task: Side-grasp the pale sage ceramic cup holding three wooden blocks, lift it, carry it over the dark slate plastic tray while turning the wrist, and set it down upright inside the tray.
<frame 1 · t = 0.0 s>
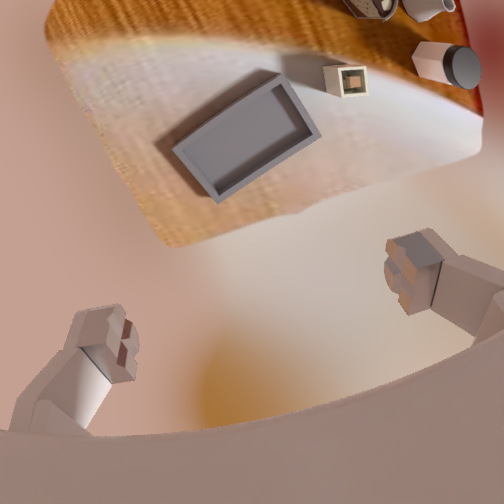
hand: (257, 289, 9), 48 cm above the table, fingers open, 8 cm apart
tray: (246, 136, 53), on the table
jar: (427, 60, 47), on the table
flask: (416, 6, 40), on the table
cup: (337, 78, 49), on the table
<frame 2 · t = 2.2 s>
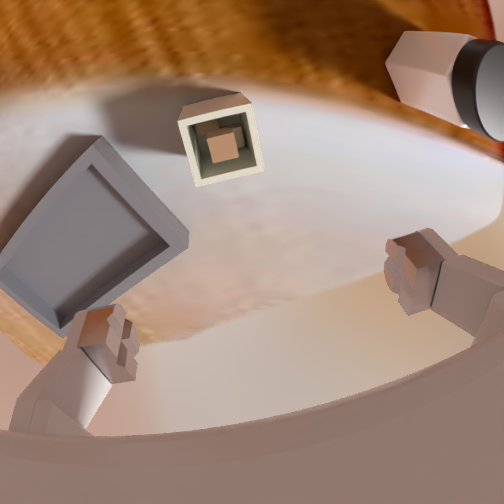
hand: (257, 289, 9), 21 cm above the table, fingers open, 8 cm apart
tray: (76, 246, 31), on the table
jar: (418, 69, 25), on the table
cup: (218, 125, 26), on the table
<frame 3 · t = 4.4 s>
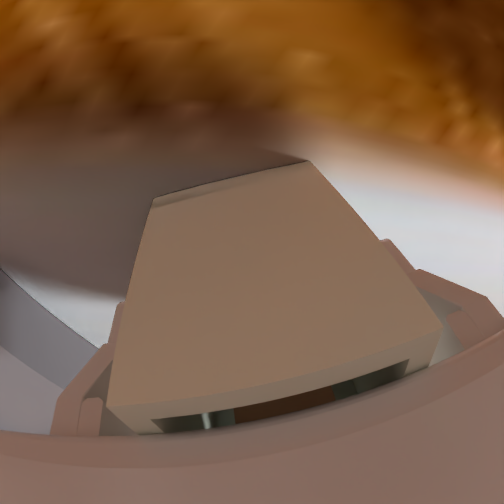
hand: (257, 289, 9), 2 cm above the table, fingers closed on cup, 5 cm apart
tray: (18, 400, 16), on the table
cup: (247, 244, 11), on the table, touching gripper
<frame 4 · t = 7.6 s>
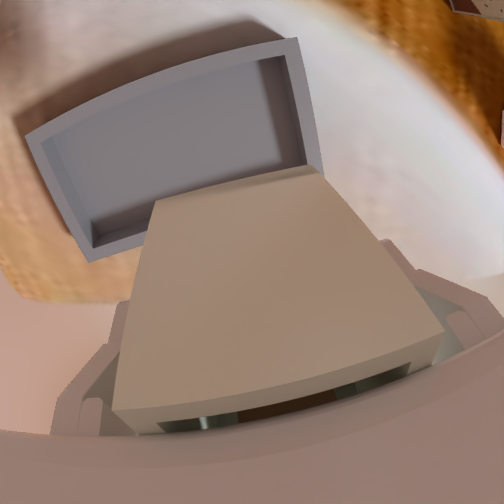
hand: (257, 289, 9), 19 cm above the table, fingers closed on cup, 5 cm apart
tray: (175, 146, 25), on the table
cup: (248, 246, 11), point 17 cm above the table, touching gripper
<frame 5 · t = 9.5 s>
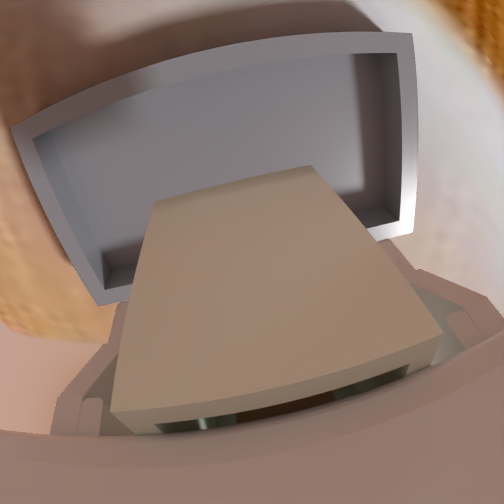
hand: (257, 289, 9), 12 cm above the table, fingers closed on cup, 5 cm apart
tray: (228, 156, 18), on the table
cup: (247, 247, 11), point 9 cm above the table, touching gripper
when the fingers open (5 cm above the table, at t = 11.2 s): cup drops 1 cm, resting on tray.
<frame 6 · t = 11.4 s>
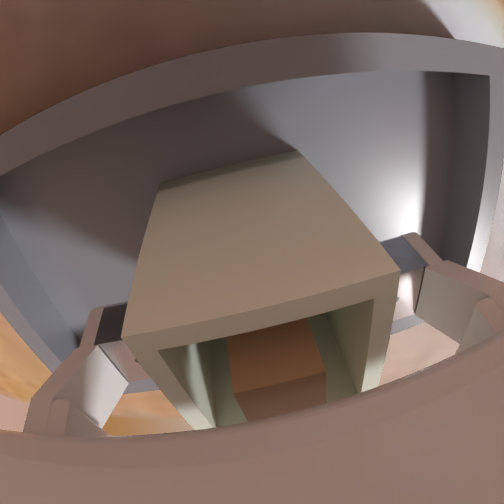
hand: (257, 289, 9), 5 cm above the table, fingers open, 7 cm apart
tray: (240, 215, 13), on the table
cup: (243, 225, 12), point 1 cm above the table, touching tray
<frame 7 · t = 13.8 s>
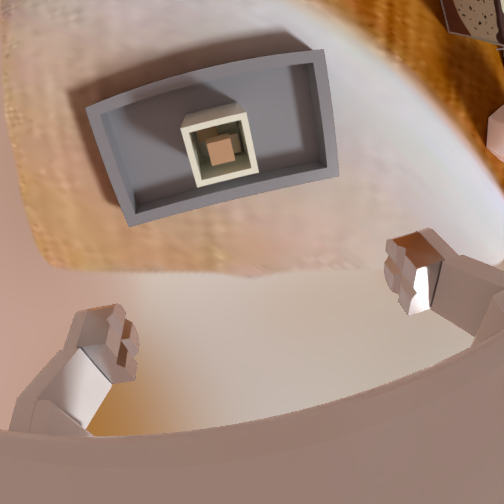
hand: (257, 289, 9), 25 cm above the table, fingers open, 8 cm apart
tray: (216, 130, 30), on the table
jar: (500, 131, 33), on the table
cup: (217, 132, 29), point 1 cm above the table, touching tray
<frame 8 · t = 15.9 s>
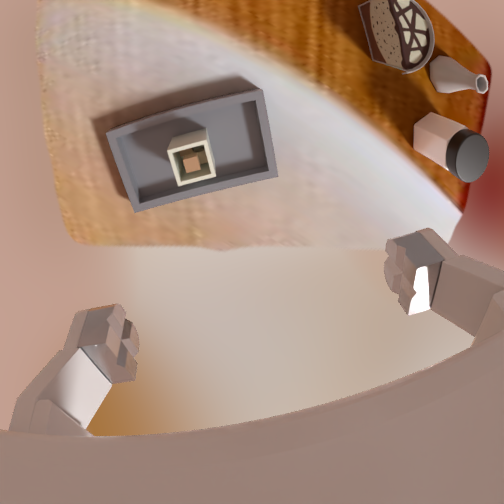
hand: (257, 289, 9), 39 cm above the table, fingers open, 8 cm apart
food container: (381, 31, 37), on the table
tray: (193, 147, 44), on the table
jar: (429, 135, 48), on the table
flask: (442, 74, 41), on the table
cup: (193, 148, 44), point 1 cm above the table, touching tray
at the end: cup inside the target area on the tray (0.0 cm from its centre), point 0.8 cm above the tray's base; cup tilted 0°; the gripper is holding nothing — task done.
